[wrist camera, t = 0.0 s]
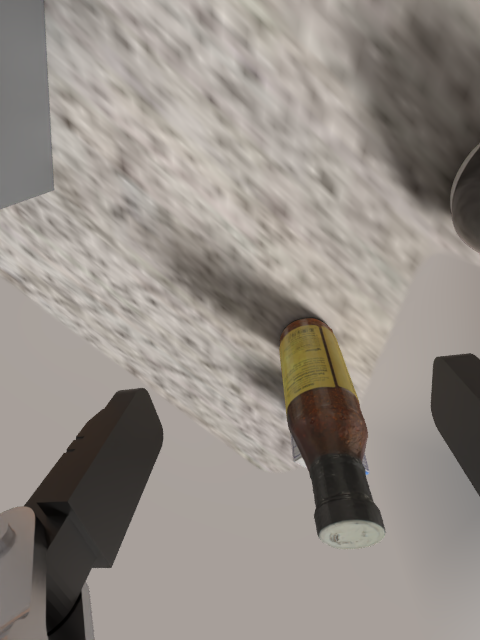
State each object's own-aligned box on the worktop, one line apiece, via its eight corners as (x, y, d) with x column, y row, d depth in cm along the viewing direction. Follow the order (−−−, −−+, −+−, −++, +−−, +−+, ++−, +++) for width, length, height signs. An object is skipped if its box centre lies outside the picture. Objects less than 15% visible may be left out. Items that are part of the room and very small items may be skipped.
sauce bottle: (271, 350, 36) (274, 545, 20) (291, 307, 33) (314, 500, 17) (322, 365, 37) (366, 565, 21) (347, 324, 34) (424, 526, 17)
